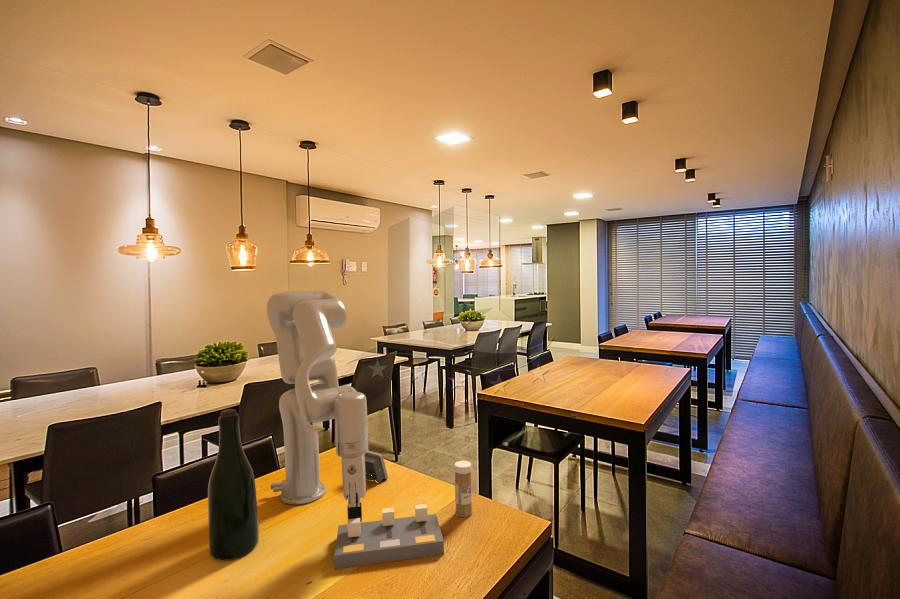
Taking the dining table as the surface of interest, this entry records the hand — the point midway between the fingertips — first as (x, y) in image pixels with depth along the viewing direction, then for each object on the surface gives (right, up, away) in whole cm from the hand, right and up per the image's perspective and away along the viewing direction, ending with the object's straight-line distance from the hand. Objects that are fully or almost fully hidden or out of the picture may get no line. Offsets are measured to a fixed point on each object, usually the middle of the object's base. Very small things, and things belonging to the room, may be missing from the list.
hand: (355, 521), depth 103 cm
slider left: (0, -2, -3) cm, 3 cm away
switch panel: (+9, -5, -2) cm, 10 cm away
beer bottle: (-28, -6, -1) cm, 29 cm away
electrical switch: (-2, -4, +33) cm, 33 cm away
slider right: (+16, -1, +3) cm, 16 cm away
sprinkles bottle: (+26, -4, +12) cm, 29 cm away
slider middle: (+8, -1, +2) cm, 8 cm away
